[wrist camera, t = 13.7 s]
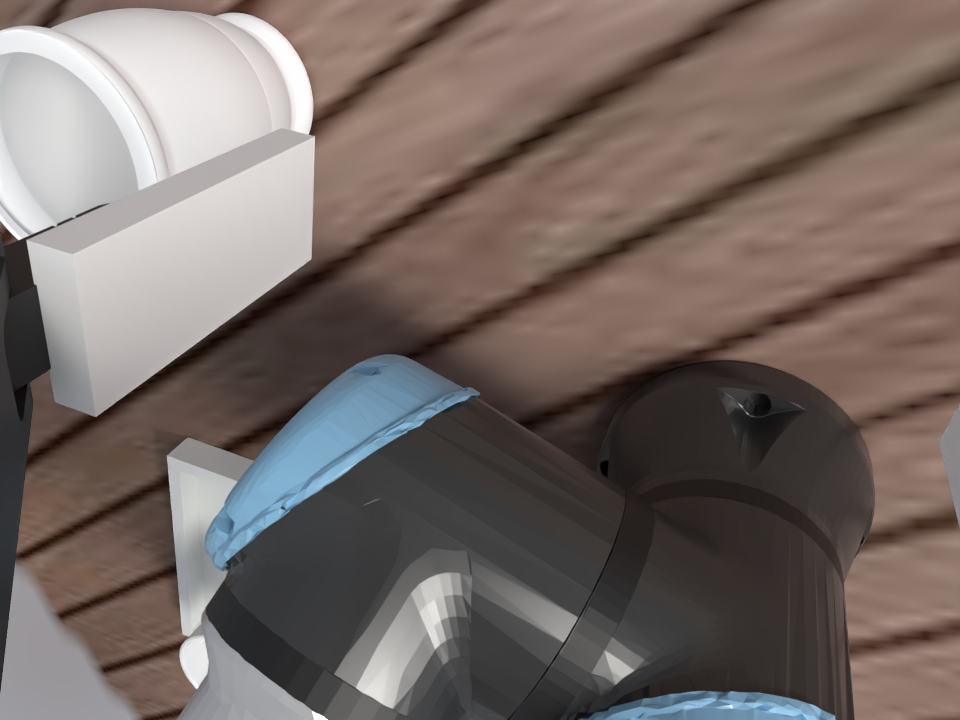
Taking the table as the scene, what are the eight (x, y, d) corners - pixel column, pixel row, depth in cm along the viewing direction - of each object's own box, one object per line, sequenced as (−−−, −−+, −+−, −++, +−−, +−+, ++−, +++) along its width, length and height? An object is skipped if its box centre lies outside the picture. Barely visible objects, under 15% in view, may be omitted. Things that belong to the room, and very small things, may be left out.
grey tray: (429, 523, 58) (415, 546, 56) (404, 696, 69) (392, 721, 66) (188, 437, 62) (166, 455, 60) (199, 613, 73) (182, 633, 71)
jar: (345, 186, 47) (183, 288, 35) (197, 180, 51) (1, 271, 38) (316, -13, 42) (116, 23, 30) (154, -6, 46) (-87, 29, 33)
